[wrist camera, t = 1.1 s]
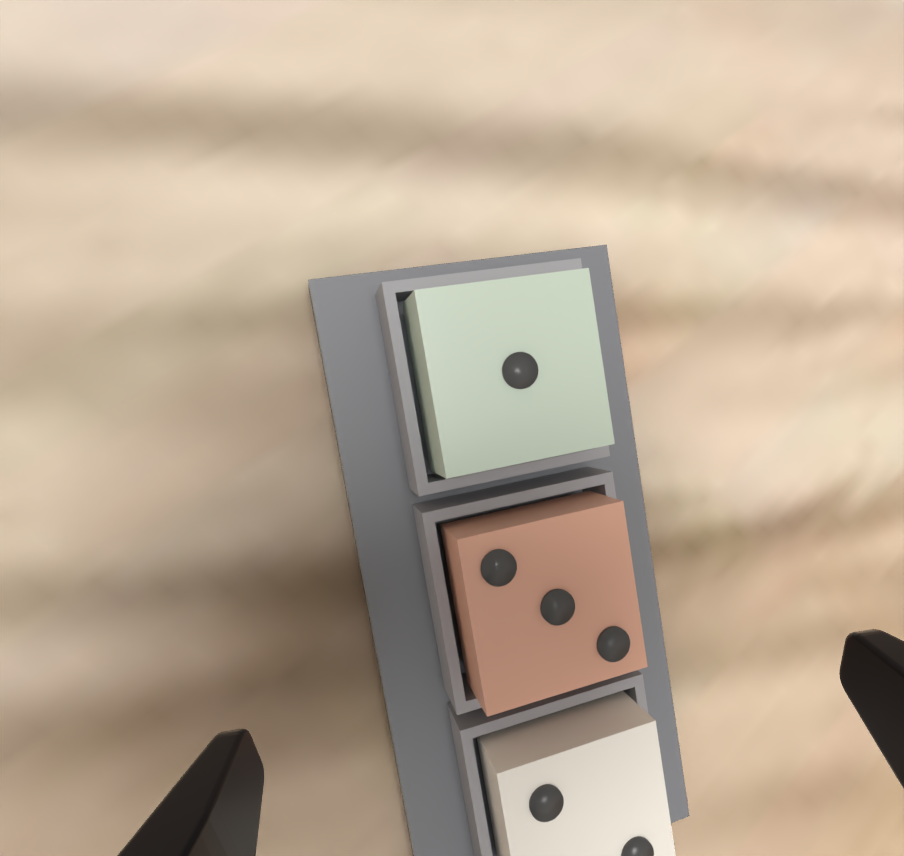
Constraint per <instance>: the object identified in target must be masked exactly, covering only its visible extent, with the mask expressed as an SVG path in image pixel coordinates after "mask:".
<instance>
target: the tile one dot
mask: <svg viewBox="0 0 904 856" xmlns="http://www.w3.org/2000/svg"><path fill="white" fill-rule="evenodd" d="M402 307H403V312H404V318H405V324H406V330H407V336H408V341H409V347H410V353H411V359H412V365H413V370H414V376H415V382H416V388H417V394H418V399H419V405H420V411H421V417H422V423H423V428H424V434H425V440H426V446H427V452H428V457H429V463H430V469H431V471H433V472H435V473H436V474H438V475H440V476H442V477H444V478H446V479H448V478H453V477H457V476H462V475H467V474H472V473H477V472H482V471H486V470H491V469H496V468H501V467H506V466H511V465H515V464H520V463H525V462H530V461H535V460H540V459H544V458H549V457H554V456H559V455H564V454H569V453H573V452H578V451H583V450H588V449H593V448H598V447H602V446H607V445H612V444H615V442H614V435H613V428H612V421H611V415H610V408H609V401H608V394H607V388H606V381H605V374H604V367H603V361H602V354H601V347H600V340H599V333H598V327H597V320H596V313H595V306H594V300H593V293H592V286H591V279H590V273H589V268H583V269H575V270H567V271H559V272H552V273H544V274H536V275H528V276H520V277H512V278H504V279H496V280H488V281H480V282H473V283H465V284H457V285H449V286H441V287H433V288H425V289H417V290H414V291H413V292H412V293H411V294H410V296H409V297H408V298H407V299H406V300H405V302H404V303H403V304H402Z"/></svg>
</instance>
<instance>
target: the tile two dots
mask: <svg viewBox="0 0 904 856" xmlns="http://www.w3.org/2000/svg"><path fill="white" fill-rule="evenodd" d="M477 742H478V747H479V753H480V759H481V765H482V771H483V776H484V782H485V788H486V794H487V800H488V805H489V811H490V817H491V823H492V829H493V834H494V840H495V846H496V852H497V856H676V855H675V848H674V841H673V834H672V828H671V821H670V814H669V807H668V800H667V794H666V787H665V780H664V773H663V767H662V760H661V753H660V746H659V740H658V733H657V726H656V720H655V719H653V718H652V717H651V716H650V715H649V714H648V713H647V712H646V711H645V710H644V709H643V708H641V707H640V706H639V705H638V704H637V703H636V702H635V701H634V700H633V699H632V698H630V697H629V696H628V695H627V694H626V693H625V692H624V691H620V692H617V693H613V694H610V695H607V696H604V697H601V698H598V699H595V700H591V701H588V702H585V703H582V704H579V705H576V706H573V707H569V708H566V709H563V710H560V711H557V712H554V713H551V714H547V715H544V716H541V717H538V718H535V719H532V720H529V721H525V722H522V723H519V724H516V725H513V726H510V727H507V728H503V729H500V730H497V731H494V732H491V733H488V734H485V735H481V736H478V737H477Z"/></svg>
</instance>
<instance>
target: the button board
mask: <svg viewBox="0 0 904 856" xmlns="http://www.w3.org/2000/svg"><path fill="white" fill-rule="evenodd" d="M583 268H589V273H590V279H591V286H592V293H593V300H594V306H595V313H596V320H597V327H598V333H599V340H600V347H601V354H602V361H603V367H604V374H605V381H606V388H607V394H608V401H609V408H610V415H611V421H612V428H613V435H614V442H615V444H612V445H607V446H602V447H598V448H593V449H588V450H583V451H578V452H573V453H569V454H564V455H559V456H554V457H549V458H544V459H540V460H535V461H530V462H525V463H520V464H515V465H511V466H506V467H501V468H496V469H491V470H486V471H482V472H477V473H472V474H467V475H462V476H457V477H453V478H448V479H446V478H444V477H442V476H440V475H438V474H436V473H435V472H433V471H431V469H430V463H429V457H428V452H427V446H426V440H425V434H424V428H423V423H422V417H421V411H420V405H419V399H418V394H417V388H416V382H415V376H414V370H413V365H412V359H411V353H410V347H409V341H408V336H407V330H406V324H405V318H404V312H403V307H402V304H403V303H404V302H405V300H406V299H407V298H408V297H409V296H410V294H411V293H412V292H413V291H414V290H417V289H425V288H433V287H441V286H449V285H457V284H465V283H473V282H480V281H488V280H496V279H504V278H512V277H520V276H528V275H536V274H544V273H552V272H559V271H567V270H575V269H583ZM308 281H309V292H310V297H311V303H312V308H313V314H314V319H315V325H316V330H317V335H318V341H319V346H320V352H321V357H322V363H323V368H324V373H325V379H326V384H327V390H328V395H329V401H330V406H331V411H332V417H333V422H334V428H335V433H336V439H337V444H338V450H339V455H340V460H341V466H342V471H343V477H344V482H345V488H346V493H347V498H348V504H349V509H350V515H351V520H352V526H353V531H354V536H355V542H356V547H357V553H358V558H359V564H360V569H361V574H362V580H363V585H364V591H365V596H366V602H367V607H368V613H369V618H370V623H371V629H372V634H373V640H374V645H375V651H376V656H377V661H378V667H379V672H380V678H381V683H382V689H383V694H384V699H385V705H386V710H387V716H388V721H389V727H390V732H391V737H392V743H393V748H394V754H395V759H396V765H397V770H398V775H399V781H400V786H401V792H402V797H403V803H404V808H405V814H406V819H407V824H408V830H409V835H410V841H411V846H412V852H413V856H497V852H496V846H495V840H494V834H493V829H492V823H491V817H490V811H489V805H488V800H487V794H486V788H485V782H484V776H483V771H482V765H481V759H480V753H479V747H478V742H477V737H478V736H481V735H485V734H488V733H491V732H494V731H497V730H500V729H503V728H507V727H510V726H513V725H516V724H519V723H522V722H525V721H529V720H532V719H535V718H538V717H541V716H544V715H547V714H551V713H554V712H557V711H560V710H563V709H566V708H569V707H573V706H576V705H579V704H582V703H585V702H588V701H591V700H595V699H598V698H601V697H604V696H607V695H610V694H613V693H617V692H620V691H624V692H625V693H626V694H627V695H628V696H629V697H630V698H632V699H633V700H634V701H635V702H636V703H637V704H638V705H639V706H640V707H641V708H643V709H644V710H645V711H646V712H647V713H648V714H649V715H650V716H651V717H652V718H653V719H655V720H656V726H657V733H658V740H659V746H660V753H661V760H662V767H663V773H664V780H665V787H666V794H667V800H668V807H669V814H670V821H671V823H673V822H675V821H678V820H680V819H683V818H686V817H688V816H689V810H688V803H687V796H686V789H685V782H684V775H683V769H682V762H681V755H680V748H679V741H678V734H677V727H676V720H675V713H674V707H673V700H672V693H671V686H670V679H669V672H668V665H667V658H666V651H665V644H664V638H663V631H662V624H661V617H660V610H659V603H658V596H657V589H656V582H655V576H654V569H653V562H652V555H651V548H650V541H649V534H648V527H647V520H646V513H645V507H644V500H643V493H642V486H641V479H640V472H639V465H638V458H637V451H636V445H635V438H634V431H633V424H632V417H631V410H630V403H629V396H628V389H627V383H626V376H625V369H624V362H623V355H622V348H621V341H620V334H619V327H618V320H617V314H616V307H615V300H614V293H613V286H612V279H611V272H610V265H609V258H608V252H607V245H600V246H592V247H583V248H575V249H566V250H558V251H549V252H541V253H532V254H524V255H515V256H506V257H498V258H489V259H481V260H472V261H464V262H455V263H447V264H438V265H430V266H421V267H413V268H404V269H396V270H387V271H379V272H370V273H362V274H353V275H345V276H336V277H328V278H319V279H311V280H308ZM586 491H592V492H595V493H598V494H602V495H605V496H608V497H612V498H615V499H619V500H622V501H623V503H624V509H625V516H626V523H627V530H628V536H629V543H630V550H631V557H632V564H633V570H634V577H635V584H636V591H637V597H638V604H639V611H640V618H641V624H642V631H643V638H644V645H645V652H646V658H647V665H648V667H646V668H642V669H639V670H636V671H633V672H629V673H626V674H623V675H620V676H617V677H613V678H610V679H607V680H604V681H601V682H597V683H594V684H591V685H588V686H584V687H581V688H578V689H575V690H572V691H568V692H565V693H562V694H559V695H556V696H552V697H549V698H546V699H543V700H540V701H536V702H533V703H530V704H527V705H523V706H520V707H517V708H514V709H511V710H507V711H504V712H501V713H498V714H495V715H491V716H488V717H487V716H486V714H485V712H484V711H483V709H482V707H481V705H480V703H479V702H478V700H477V698H476V696H475V694H474V693H473V691H472V689H471V687H470V686H469V684H468V682H467V678H466V672H465V666H464V660H463V655H462V649H461V643H460V637H459V631H458V626H457V620H456V614H455V608H454V602H453V597H452V591H451V585H450V579H449V573H448V568H447V562H446V556H445V550H444V544H443V539H442V533H441V527H440V524H444V523H448V522H453V521H457V520H462V519H466V518H470V517H475V516H479V515H484V514H488V513H493V512H497V511H501V510H506V509H510V508H515V507H519V506H524V505H528V504H533V503H537V502H541V501H546V500H550V499H555V498H559V497H564V496H568V495H573V494H577V493H581V492H586Z"/></svg>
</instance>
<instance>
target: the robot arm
mask: <svg viewBox="0 0 904 856" xmlns="http://www.w3.org/2000/svg"><path fill="white" fill-rule="evenodd" d="M840 680H841V683H842V686H843V688H844V690H845V692H846V694H847V695H848V697H849V699H850V700H851V702H852V704H853V705H854V707H855V709H856V710H857V712H858V714H859V715H860V717H861V719H862V720H863V722H864V724H865V725H866V727H867V729H868V730H869V732H870V734H871V735H872V737H873V739H874V740H875V742H876V744H877V745H878V747H879V749H880V750H881V752H882V754H883V755H884V757H885V759H886V760H887V762H888V764H889V765H890V767H891V769H892V770H893V772H894V774H895V775H896V777H897V779H898V780H899V782H900V783H901V785H902V786H903V788H904V641H902V640H900V639H898V638H896V637H894V636H892V635H890V634H888V633H886V632H884V631H881V630H876V629H872V630H865V631H858V632H853V633H850V634H849V635H848V636H847V637H846V640H845V645H844V650H843V656H842V661H841V666H840ZM263 785H264V769H263V764H262V761H261V759H260V756H259V754H258V752H257V749H256V747H255V744H254V742H253V739H252V737H251V735H250V733H249V731H247V730H246V729H237V730H230V731H224V732H221V733H219V734H218V735H216V736H215V737H214V738H213V739H212V740H211V742H210V743H209V744H208V745H207V747H206V748H205V749H204V750H203V752H202V753H201V754H200V755H199V756H198V758H197V759H196V760H195V761H194V763H193V764H192V765H191V766H190V767H189V769H188V770H187V771H186V772H185V774H184V775H183V776H182V777H181V778H180V780H179V781H178V782H177V783H176V785H175V786H174V787H173V788H172V790H171V791H170V792H169V793H168V794H167V796H166V797H165V798H164V799H163V801H162V802H161V803H160V804H159V805H158V807H157V808H156V809H155V810H154V812H153V813H152V814H151V815H150V817H149V818H148V819H147V820H146V821H145V823H144V824H143V825H142V826H141V828H140V829H139V830H138V831H137V832H136V834H135V835H134V836H133V837H132V839H131V840H130V841H129V842H128V844H127V845H126V846H125V847H124V848H123V850H122V851H121V852H120V853H119V855H118V856H255V855H256V846H257V837H258V828H259V820H260V811H261V802H262V794H263Z"/></svg>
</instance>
